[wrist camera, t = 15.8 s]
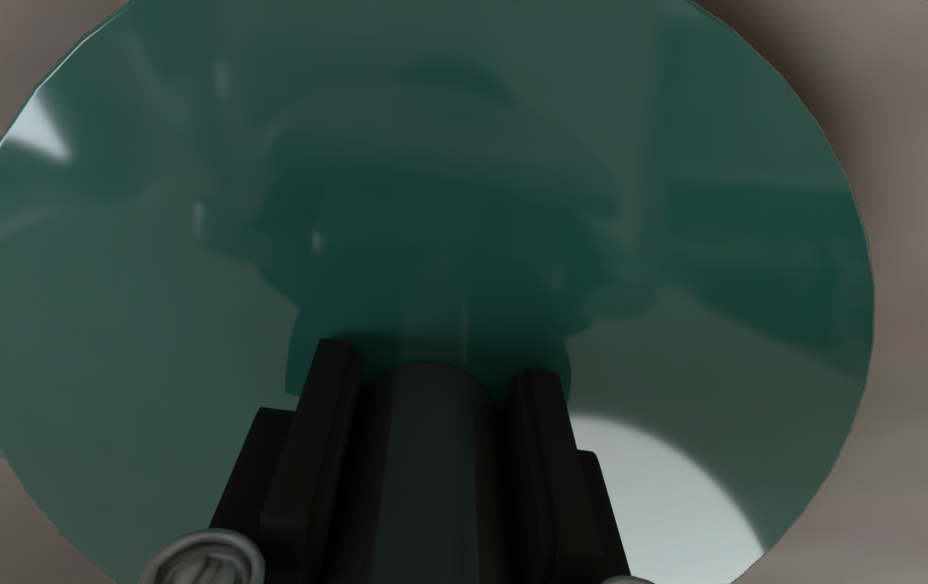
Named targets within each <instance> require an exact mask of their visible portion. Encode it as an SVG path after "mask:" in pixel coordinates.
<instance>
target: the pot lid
mask: <svg viewBox="0 0 928 584" xmlns="http://www.w3.org/2000/svg"><path fill="white" fill-rule="evenodd" d="M874 312H875V285H874V278H873V272H872V265H871V258H870V251H869V245H868V238H867V233H866V230H865V227H864V224H863V220H862V217H861V214H860V211H859V208H858V205H857V202H856V199H855V196H854V193H853V190H852V187H851V184H850V181H849V178H848V176H847V174H846V172H845V170H844V168H843V167H842V165H841V163H840V161H839V159H838V157H837V155H836V153H835V151H834V149H833V148H832V146H831V144H830V142H829V140H828V138H827V136H826V134H825V132H824V130H823V128H822V127H821V125H820V124H819V122H818V121H817V120H816V118H815V117H814V116H813V114H812V113H811V112H810V110H809V109H808V108H807V107H806V105H805V104H804V103H803V101H802V100H801V99H800V97H799V96H798V95H797V93H796V92H795V91H794V89H793V88H792V87H791V86H790V84H789V83H788V82H787V80H786V79H785V78H784V76H783V75H782V74H781V73H780V72H779V71H778V70H777V69H776V68H775V67H774V66H773V65H772V64H771V63H770V62H768V61H767V60H766V59H765V58H764V57H763V56H762V55H761V54H760V53H759V52H758V51H757V50H756V49H755V48H754V47H753V46H751V45H750V44H749V43H748V42H747V41H746V40H745V39H744V38H743V37H742V36H741V35H740V34H739V33H738V32H737V31H736V30H735V29H733V28H732V27H731V26H730V25H728V24H727V23H725V22H724V21H722V20H721V19H719V18H718V17H716V16H715V15H714V14H712V13H711V12H709V11H708V10H706V9H705V8H703V7H702V6H700V5H699V4H697V3H696V2H694V1H693V0H130V1H128V2H127V3H126V4H124V5H123V6H122V7H120V8H119V9H118V10H116V11H115V12H114V13H112V14H111V15H110V16H108V17H107V18H106V19H104V20H103V21H102V22H100V23H99V24H98V25H96V26H95V27H94V28H92V29H91V30H90V31H88V32H87V33H86V34H84V35H83V36H82V37H81V38H80V39H79V40H78V41H77V42H76V43H75V44H74V45H73V46H72V47H71V48H70V49H69V51H68V52H67V53H66V54H65V55H64V56H63V57H62V58H61V59H60V60H59V61H58V62H57V63H56V64H55V65H54V66H53V67H52V69H51V70H50V71H49V72H48V73H47V74H46V75H45V76H44V77H43V78H42V79H41V80H40V81H39V82H38V83H37V84H36V86H35V87H34V88H33V90H32V91H31V93H30V95H29V96H28V98H27V99H26V101H25V102H24V104H23V105H22V107H21V108H20V110H19V111H18V113H17V114H16V116H15V117H14V119H13V120H12V122H11V124H10V125H9V127H8V128H7V130H6V131H5V133H4V134H3V136H2V137H1V139H0V451H1V452H2V454H3V455H4V457H5V459H6V460H7V462H8V464H9V465H10V467H11V468H12V470H13V472H14V473H15V475H16V476H17V478H18V480H19V481H20V483H21V484H22V486H23V488H24V489H25V491H26V492H27V494H28V495H29V496H30V497H31V499H32V500H33V501H34V502H35V503H36V505H37V506H38V507H39V508H40V510H41V511H42V512H43V513H44V515H45V516H46V517H47V518H48V520H49V521H50V522H51V523H52V524H53V526H54V527H55V528H56V529H57V530H58V531H59V532H60V533H61V534H62V535H63V536H64V537H65V538H66V539H67V540H68V541H69V542H70V543H71V544H72V545H73V546H74V547H75V548H76V549H77V550H78V551H79V552H80V553H81V554H82V555H83V556H84V557H85V558H86V559H87V560H88V561H89V562H91V563H92V564H93V565H95V566H96V567H97V568H98V569H100V570H101V571H102V572H103V573H105V574H106V575H107V576H109V577H110V578H111V579H112V580H114V581H115V582H116V583H117V584H138V582H139V580H140V577H141V575H142V572H143V570H144V568H145V567H146V565H147V564H148V562H149V560H150V559H151V557H152V556H153V555H154V554H155V553H156V552H157V551H158V550H159V549H160V548H161V547H162V546H164V545H165V544H166V543H167V542H169V541H171V540H173V539H175V538H176V537H178V536H180V535H182V534H185V533H188V532H192V531H195V530H199V529H208V527H209V525H210V523H211V520H212V518H213V515H214V513H215V511H216V508H217V506H218V504H219V501H220V499H221V496H222V494H223V492H224V489H225V487H226V484H227V482H228V480H229V477H230V475H231V473H232V470H233V468H234V465H235V463H236V461H237V458H238V456H239V453H240V451H241V449H242V446H243V444H244V441H245V439H246V437H247V434H248V432H249V430H250V427H251V425H252V422H253V420H254V418H255V415H256V413H257V411H258V409H259V408H260V407H268V408H275V409H282V410H290V411H296V408H297V405H298V402H299V399H300V396H301V393H302V390H303V387H304V384H305V381H306V378H307V375H308V372H309V369H310V366H311V363H312V360H313V358H314V355H315V352H316V349H317V346H318V343H319V340H320V338H324V339H331V340H338V341H345V342H351V343H352V349H351V351H356V352H363V355H362V363H361V371H360V378H359V385H358V393H357V400H356V407H355V412H354V416H353V421H352V426H351V431H350V435H349V440H348V445H347V450H346V455H345V459H344V464H343V469H342V474H341V479H340V483H339V488H338V493H337V498H336V502H335V507H334V512H333V517H332V522H331V526H330V531H329V536H328V541H327V546H326V550H325V555H324V560H323V565H322V569H321V574H320V579H319V584H517V582H516V572H515V562H514V552H513V543H512V533H511V523H510V514H509V504H508V494H507V484H506V475H505V465H504V455H503V445H502V436H501V426H500V422H501V418H502V414H503V410H504V407H505V403H506V399H507V395H508V392H509V388H510V384H511V381H512V378H513V376H514V375H522V376H523V374H524V372H525V370H526V369H527V368H529V369H536V370H543V371H550V372H556V373H558V375H559V377H560V381H561V385H562V389H563V393H564V397H565V401H566V405H567V409H568V413H569V417H570V421H571V425H572V429H573V433H574V437H575V441H576V445H577V449H580V450H587V451H593V452H594V453H595V454H596V456H597V458H598V460H599V463H600V467H601V470H602V474H603V477H604V481H605V484H606V488H607V491H608V495H609V498H610V502H611V505H612V509H613V512H614V516H615V519H616V523H617V526H618V530H619V533H620V537H621V540H622V544H623V547H624V551H625V555H626V558H627V562H628V565H629V569H630V572H631V576H636V577H639V578H643V579H646V580H649V581H651V582H653V583H655V584H731V583H732V582H734V581H735V580H736V579H738V578H739V577H740V576H742V575H743V574H744V573H745V572H746V571H747V570H748V569H749V568H751V567H752V566H753V565H754V564H755V563H756V562H757V561H758V560H759V559H760V558H762V557H763V556H764V555H765V554H766V553H767V552H768V551H769V550H770V549H771V548H772V547H774V546H775V544H776V543H777V542H778V541H779V540H780V539H781V538H782V536H783V535H784V534H785V533H786V532H787V531H788V530H789V528H790V527H791V526H792V525H793V524H794V523H795V522H796V520H797V519H798V518H799V517H800V516H801V515H802V514H803V512H804V511H805V510H806V508H807V507H808V505H809V504H810V502H811V501H812V499H813V498H814V496H815V495H816V493H817V492H818V490H819V489H820V487H821V486H822V485H823V483H824V482H825V480H826V479H827V477H828V476H829V474H830V472H831V470H832V468H833V466H834V464H835V462H836V460H837V458H838V456H839V454H840V452H841V450H842V448H843V446H844V444H845V442H846V440H847V438H848V436H849V434H850V432H851V429H852V426H853V423H854V420H855V417H856V414H857V411H858V408H859V405H860V402H861V399H862V396H863V394H864V391H865V387H866V382H867V376H868V370H869V365H870V359H871V354H872V348H873V342H874Z"/></svg>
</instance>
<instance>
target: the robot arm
mask: <svg viewBox="0 0 928 584" xmlns="http://www.w3.org/2000/svg"><path fill="white" fill-rule="evenodd" d="M351 349H352V343H351V342H345V341H338V340H331V339H324V338H320V340H319V343H318V346H317V349H316V352H315V355H314V358H313V360H312V363H311V366H310V369H309V372H308V375H307V378H306V381H305V384H304V387H303V390H302V393H301V396H300V399H299V402H298V405H297V408H296V411H290V410H282V409H275V408H268V407H260V408H259V409H258V411H257V413H256V415H255V418H254V420H253V422H252V425H251V427H250V430H249V432H248V434H247V437H246V439H245V441H244V444H243V446H242V449H241V451H240V453H239V456H238V458H237V461H236V463H235V465H234V468H233V470H232V473H231V475H230V477H229V480H228V482H227V484H226V487H225V489H224V492H223V494H222V496H221V499H220V501H219V504H218V506H217V508H216V511H215V513H214V515H213V518H212V520H211V523H210V525H209V527H208V529H199V530H195V531H192V532H188V533H185V534H182V535H180V536H178V537H176V538H175V539H173V540H171V541H169V542H167V543H166V544H165V545H164V546H162V547H161V548H160V549H159V550H158V551H157V552H156V553H155V554H154V555H153V556H152V557H151V559H150V560H149V562H148V564H147V565H146V567H145V568H144V570H143V572H142V575H141V577H140V580H139V582H138V584H319V579H320V574H321V569H322V565H323V560H324V555H325V550H326V546H327V541H328V536H329V531H330V526H331V522H332V517H333V512H334V507H335V502H336V498H337V493H338V488H339V483H340V479H341V474H342V469H343V464H344V459H345V455H346V450H347V445H348V440H349V435H350V431H351V426H352V421H353V416H354V412H355V407H356V400H357V393H358V385H359V378H360V371H361V363H362V355H363V352H356V351H351ZM500 426H501V436H502V445H503V455H504V465H505V475H506V484H507V494H508V504H509V514H510V523H511V533H512V543H513V552H514V562H515V572H516V582H517V584H655V583H653V582H651V581H649V580H646V579H643V578H639V577H636V576H631V572H630V569H629V565H628V562H627V558H626V555H625V551H624V547H623V544H622V540H621V537H620V533H619V530H618V526H617V523H616V519H615V516H614V512H613V509H612V505H611V502H610V498H609V495H608V491H607V488H606V484H605V481H604V477H603V474H602V470H601V467H600V463H599V460H598V458H597V456H596V454H595V453H594V452H593V451H587V450H580V449H577V445H576V441H575V437H574V433H573V429H572V425H571V421H570V417H569V413H568V409H567V405H566V401H565V397H564V393H563V389H562V385H561V381H560V377H559V375H558V373H556V372H550V371H543V370H536V369H529V368H527V369H526V370H525V372H524V374H523V376H522V375H514V376H513V378H512V381H511V384H510V388H509V392H508V395H507V399H506V403H505V407H504V410H503V414H502V418H501V422H500Z"/></svg>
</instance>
